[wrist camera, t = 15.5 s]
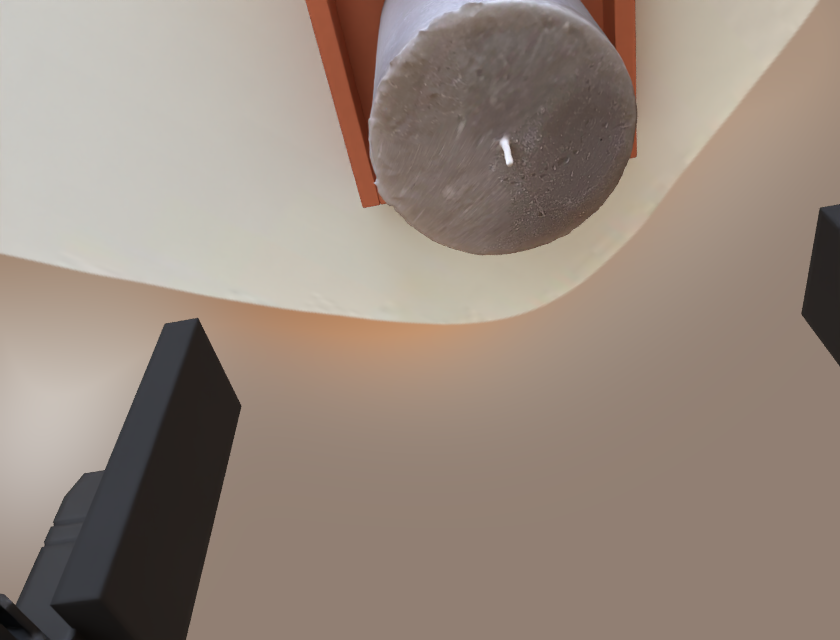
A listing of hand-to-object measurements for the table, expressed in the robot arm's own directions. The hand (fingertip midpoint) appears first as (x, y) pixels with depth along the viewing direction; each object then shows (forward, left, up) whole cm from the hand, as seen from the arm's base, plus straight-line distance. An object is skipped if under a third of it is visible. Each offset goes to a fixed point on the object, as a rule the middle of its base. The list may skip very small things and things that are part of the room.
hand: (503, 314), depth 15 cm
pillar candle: (+1, -1, -25) cm, 25 cm away
